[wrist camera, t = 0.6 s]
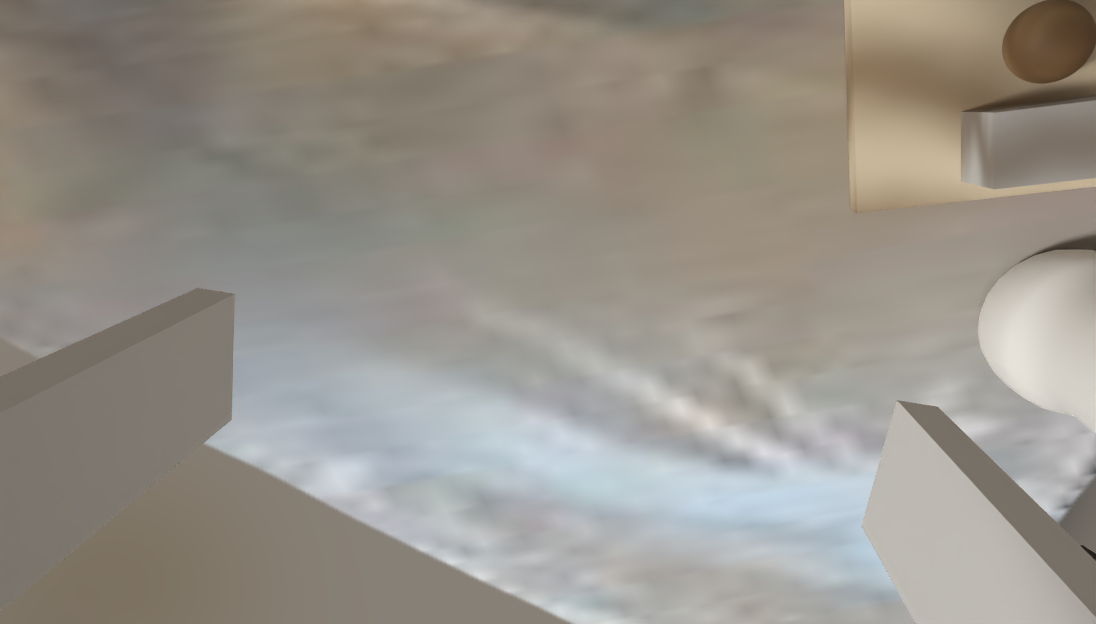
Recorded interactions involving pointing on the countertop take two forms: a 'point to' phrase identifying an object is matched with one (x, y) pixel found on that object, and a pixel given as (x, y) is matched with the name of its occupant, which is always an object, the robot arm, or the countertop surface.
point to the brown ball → (1049, 41)
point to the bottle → (1046, 331)
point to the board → (957, 108)
